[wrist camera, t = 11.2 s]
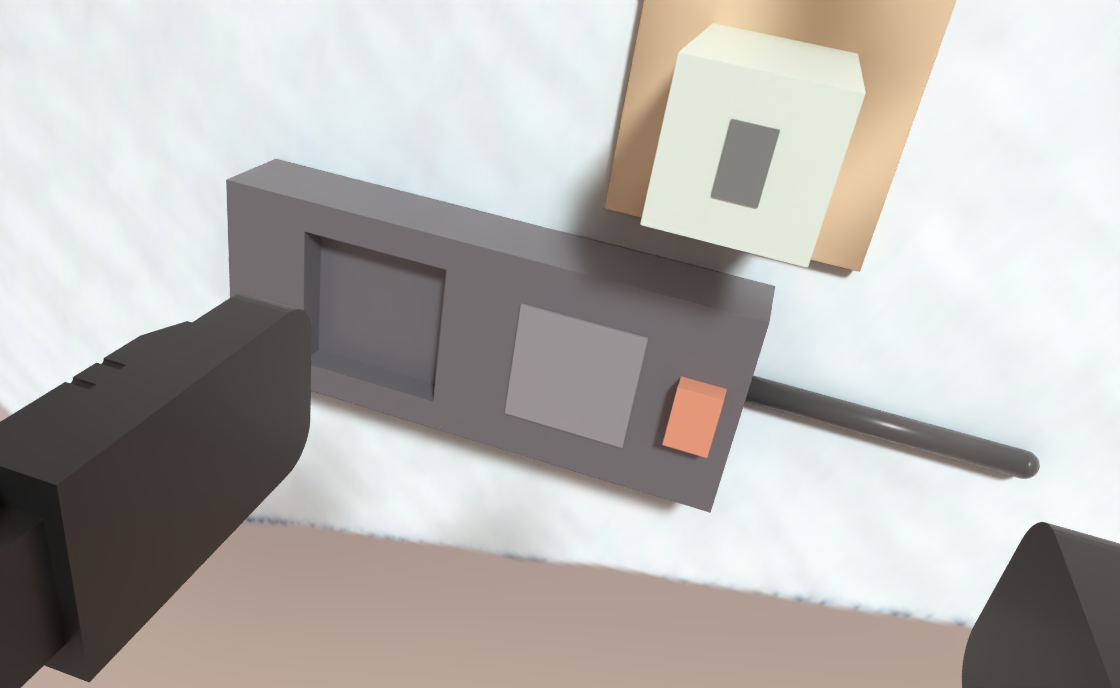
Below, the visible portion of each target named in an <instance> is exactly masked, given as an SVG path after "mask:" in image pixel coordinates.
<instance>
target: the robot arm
mask: <svg viewBox="0 0 1120 688" xmlns="http://www.w3.org/2000/svg"><path fill="white" fill-rule="evenodd" d="M311 341H312V331H311V322H310V319H309V317H308V315H307V313H306V312H305V311H303V310H301V309H298V308H294V307H291V306H287V305H283V304H280V303H276V302H273V301H269V300H266V299H262V298H259V297H255V296H252V295H248V294H242V293H241V294H237V295H235V296H233V297H231V298H229V299H228V300H226V301H225V302H223V303H222V304H220V305H219V306H217V307H216V308H214V309H212V310H211V311H209V312H208V313H206V314H205V315H203V316H202V317H200V318H198V319H197V320H195V321H194V322H188V321H186V322H183V323H180V324H177V325H173V326H170V327H167V328H164V329H160V330H157V331H154V332H151V333H147V334H144V335H141V336H139V337H137V338H136V339H134V340H133V341H131V342H129V343H128V344H126V345H124V346H123V347H121V348H120V349H118V350H116V351H115V352H113V353H111V354H110V355H108V356H107V357H105V358H104V361H103V363H102V364H99V363H95V364H94V365H92V366H90V367H89V368H87V369H85V370H84V371H82V372H81V373H79V374H77V375H76V376H74V377H73V381H72V382H71V383H67V382H64V383H63V384H61V385H59V386H58V387H56V388H55V389H53V390H51V391H50V392H48V393H46V394H45V395H43V396H42V397H40V398H38V399H37V400H35V401H33V402H32V403H30V404H29V405H27V406H25V407H24V408H22V409H20V410H19V411H17V412H16V413H14V414H12V415H11V416H9V417H7V418H6V419H4V420H3V421H1V422H0V688H21V687H22V686H23V685H24V684H25V683H26V682H27V681H28V680H29V679H30V678H31V677H32V676H33V675H34V674H35V673H36V672H37V671H38V670H39V669H41V668H42V667H43V666H44V665H45V666H47V667H50V668H53V669H56V670H58V671H61V672H63V673H66V674H69V675H71V676H74V677H76V678H79V679H82V680H84V681H87V682H90V681H91V680H92V679H93V678H94V677H95V676H96V675H97V674H98V673H99V672H100V671H101V670H102V668H104V667H105V665H106V664H107V663H108V662H109V661H110V660H111V659H112V658H113V657H114V656H115V655H116V654H117V653H118V652H119V651H120V650H121V649H122V648H123V647H124V646H125V645H126V644H127V643H128V641H129V640H130V639H131V638H132V637H133V636H134V635H135V634H136V633H137V632H138V631H139V630H140V629H141V628H142V627H143V626H144V625H145V624H146V623H147V622H148V621H149V620H150V618H151V617H152V616H153V615H154V614H155V613H156V612H157V611H158V610H159V609H160V608H161V607H162V606H163V605H164V604H165V603H166V602H167V601H168V600H169V599H170V597H172V595H173V594H174V593H175V592H176V591H177V590H178V589H179V588H180V587H181V586H182V585H183V584H184V583H185V582H186V581H187V580H188V579H189V578H190V577H191V576H192V574H193V573H194V572H195V571H196V570H197V569H198V568H199V567H200V566H201V565H202V564H203V563H204V562H205V561H206V560H207V559H208V558H209V557H210V556H211V555H212V554H213V553H214V551H215V550H217V548H218V547H219V546H220V545H221V544H222V543H223V542H224V541H225V540H226V539H227V538H228V537H229V536H230V535H231V534H232V533H233V532H234V531H235V530H236V529H237V528H238V527H239V525H240V524H241V523H242V522H243V521H244V520H245V519H246V518H247V517H248V516H249V515H250V514H251V513H252V512H253V511H254V510H255V509H256V508H257V507H258V506H259V505H260V504H261V502H262V501H263V500H264V499H265V498H266V497H267V496H268V495H269V494H270V493H271V492H272V491H273V490H274V489H275V488H276V487H277V486H278V485H279V484H280V483H281V482H282V481H283V480H284V478H285V477H286V476H287V475H288V474H289V473H290V472H291V471H292V469H293V468H294V466H295V465H296V463H297V462H298V460H299V458H300V456H301V454H302V452H303V449H304V447H305V444H306V441H307V437H308V433H309V427H310V400H311ZM962 688H1120V544H1119V543H1116V542H1112V541H1109V540H1105V539H1102V538H1098V537H1095V536H1091V535H1088V534H1084V533H1080V532H1077V531H1073V530H1070V529H1066V528H1063V527H1059V526H1056V525H1052V524H1049V523H1045V522H1040V523H1037V524H1035V525H1033V526H1032V527H1031V528H1030V529H1029V530H1028V531H1027V533H1026V534H1025V535H1024V537H1023V539H1022V540H1021V542H1020V544H1019V546H1018V547H1017V549H1016V551H1015V553H1014V555H1013V556H1012V558H1011V560H1010V562H1009V564H1008V565H1007V567H1006V569H1005V571H1004V573H1003V574H1002V576H1001V578H1000V580H999V582H998V583H997V585H996V587H995V589H994V591H993V592H992V594H991V596H990V598H989V600H988V601H987V603H986V605H985V607H984V609H983V610H982V612H981V614H980V616H979V618H978V620H977V621H976V623H975V625H974V627H973V629H972V631H971V634H970V636H969V639H968V642H967V646H966V650H965V654H964V660H963V669H962Z"/></svg>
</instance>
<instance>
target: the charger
mask: <svg viewBox="0 0 1120 688" xmlns="http://www.w3.org/2000/svg"><path fill="white" fill-rule="evenodd" d="M865 94H866V92H865V87H864V82H863V77H862V72H861V67H860V62H859V57H858V54H857V53H853V52H848V51H843V50H838V49H834V48H829V47H824V46H820V45H815V44H810V43H805V42H801V41H796V40H791V39H786V38H782V37H777V36H772V35H768V34H763V33H758V32H753V31H749V30H744V29H739V28H734V27H730V26H725V25H720V24H716V23H713V24H711V25H710V26H709V27H708V28H707V29H706V30H704V31H703V32H702V33H701V34H700V35H698V36H697V37H696V38H695V39H694V40H692V41H691V42H690V43H689V44H688V45H686V46H685V47H684V48H683V49H682V50H681V51H679V52H678V57H677V61H676V66H675V70H674V75H673V79H672V84H671V88H670V93H669V97H668V102H667V106H666V111H665V115H664V120H663V124H662V129H661V133H660V138H659V142H658V147H657V151H656V156H655V160H654V165H653V169H652V174H651V179H650V183H649V188H648V192H647V197H646V201H645V206H644V210H643V215H642V219H641V224H640V225H643V226H647V227H651V228H654V229H658V230H662V231H666V232H670V233H674V234H678V235H682V236H686V237H690V238H694V239H697V240H701V241H705V242H709V243H713V244H717V245H721V246H725V247H729V248H733V249H736V250H740V251H744V252H748V253H752V254H756V255H760V256H764V257H768V258H772V259H775V260H779V261H783V262H787V263H791V264H795V265H799V266H803V267H807V268H808V266H809V263H810V260H811V257H812V254H813V251H814V248H815V245H816V242H817V239H818V236H819V233H820V229H821V226H822V223H823V220H824V217H825V214H826V211H827V208H828V205H829V202H830V199H831V196H832V193H833V190H834V187H835V184H836V181H837V178H838V175H839V172H840V169H841V166H842V163H843V160H844V157H845V154H846V151H847V148H848V145H849V142H850V139H851V136H852V133H853V130H854V127H855V124H856V121H857V118H858V115H859V112H860V109H861V106H862V103H863V100H864V97H865Z"/></svg>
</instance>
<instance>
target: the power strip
mask: <svg viewBox="0 0 1120 688" xmlns="http://www.w3.org/2000/svg"><path fill="white" fill-rule="evenodd" d="M226 184H227V215H228V245H229V275H230V298H231V297H233V296H235V295H237V294H241V293H242V294H248V295H252V296H255V297H259V298H262V299H266V300H269V301H273V302H276V303H280V304H283V305H287V306H291V307H294V308H298V309H301V310H303V311H305V312H306V313H307V315H308V317H309V319H310V322H311V331H312V341H311V391H314V392H317V393H320V394H324V395H327V396H330V397H334V398H337V399H340V400H343V401H347V402H350V403H353V404H356V405H360V406H363V407H366V408H370V409H373V410H376V411H379V412H383V413H386V414H389V415H392V416H396V417H399V418H402V419H406V420H409V421H412V422H415V423H419V424H422V425H425V426H429V427H432V428H435V429H438V430H442V431H445V432H448V433H451V434H455V435H458V436H461V437H465V438H468V439H471V440H474V441H478V442H481V443H484V444H487V445H491V446H494V447H497V448H501V449H504V450H507V451H510V452H514V453H517V454H520V455H524V456H527V457H530V458H533V459H537V460H540V461H543V462H546V463H550V464H553V465H556V466H560V467H563V468H566V469H569V470H573V471H576V472H579V473H582V474H586V475H589V476H592V477H596V478H599V479H602V480H605V481H609V482H612V483H615V484H619V485H622V486H625V487H628V488H632V489H635V490H638V491H641V492H645V493H648V494H651V495H655V496H658V497H661V498H664V499H668V500H671V501H674V502H677V503H681V504H684V505H687V506H691V507H694V508H697V509H700V510H704V511H707V512H711V509H712V506H713V503H714V499H715V496H716V493H717V490H718V486H719V483H720V480H721V477H722V474H723V470H724V467H725V464H726V461H727V457H728V454H729V451H730V448H731V445H732V441H733V438H734V435H735V432H736V428H737V425H738V422H739V419H740V416H741V412H742V409H743V406H744V403H745V401H747V402H750V403H754V404H757V405H761V406H764V407H768V408H771V409H775V410H779V411H782V412H786V413H789V414H793V415H796V416H800V417H804V418H807V419H811V420H814V421H818V422H821V423H825V424H829V425H832V426H836V427H839V428H843V429H846V430H850V431H854V432H857V433H861V434H864V435H868V436H871V437H875V438H879V439H882V440H886V441H889V442H893V443H896V444H900V445H904V446H907V447H911V448H914V449H918V450H921V451H925V452H928V453H932V454H936V455H939V456H943V457H946V458H950V459H953V460H957V461H961V462H964V463H968V464H971V465H975V466H978V467H982V468H986V469H989V470H993V471H996V472H1000V473H1003V474H1007V475H1011V476H1014V477H1018V478H1022V479H1027V478H1031V477H1033V476H1034V475H1036V473H1037V472H1038V470H1039V467H1040V465H1039V460H1038V458H1037V457H1036V456H1035V455H1034V454H1033V453H1031V452H1029V451H1026V450H1022V449H1019V448H1015V447H1011V446H1008V445H1004V444H1000V443H997V442H993V441H990V440H986V439H982V438H979V437H975V436H971V435H968V434H964V433H960V432H957V431H953V430H949V429H946V428H942V427H939V426H935V425H931V424H928V423H924V422H920V421H917V420H913V419H909V418H906V417H902V416H898V415H895V414H891V413H888V412H884V411H880V410H877V409H873V408H869V407H866V406H862V405H858V404H855V403H851V402H847V401H844V400H840V399H837V398H833V397H829V396H826V395H822V394H818V393H815V392H811V391H807V390H804V389H800V388H797V387H793V386H789V385H786V384H782V383H778V382H775V381H771V380H767V379H764V378H760V377H756V376H753V374H754V370H755V367H756V364H757V361H758V357H759V354H760V351H761V348H762V345H763V341H764V338H765V335H766V332H767V328H768V325H769V321H770V315H771V309H772V302H773V296H774V290H775V286H772V285H768V284H764V283H760V282H756V281H752V280H748V279H744V278H740V277H736V276H733V275H729V274H725V273H721V272H717V271H713V270H709V269H705V268H701V267H697V266H693V265H689V264H686V263H682V262H678V261H674V260H670V259H666V258H662V257H658V256H654V255H650V254H646V253H642V252H638V251H635V250H631V249H627V248H623V247H619V246H615V245H611V244H607V243H603V242H599V241H595V240H591V239H588V238H584V237H580V236H576V235H572V234H568V233H564V232H560V231H556V230H552V229H548V228H544V227H541V226H537V225H533V224H529V223H525V222H521V221H517V220H513V219H509V218H505V217H501V216H497V215H493V214H490V213H486V212H482V211H478V210H474V209H470V208H466V207H462V206H458V205H454V204H450V203H446V202H443V201H439V200H435V199H431V198H427V197H423V196H419V195H415V194H411V193H407V192H403V191H399V190H396V189H392V188H388V187H384V186H380V185H376V184H372V183H368V182H364V181H360V180H356V179H352V178H348V177H345V176H341V175H337V174H333V173H329V172H325V171H321V170H317V169H313V168H309V167H305V166H301V165H298V164H294V163H290V162H286V161H282V160H278V159H274V160H272V161H270V162H267V163H265V164H263V165H260V166H258V167H255V168H253V169H251V170H248V171H246V172H244V173H241V174H239V175H237V176H234V177H232V178H229V179H227V180H226Z"/></svg>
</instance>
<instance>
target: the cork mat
mask: <svg viewBox="0 0 1120 688" xmlns="http://www.w3.org/2000/svg"><path fill="white" fill-rule="evenodd" d="M955 3H956V0H644V3H643V9H642V14H641V19H640V24H639V29H638V35H637V40H636V45H635V50H634V56H633V61H632V66H631V71H630V77H629V82H628V87H627V92H626V98H625V103H624V108H623V113H622V118H621V124H620V129H619V134H618V139H617V145H616V150H615V155H614V160H613V166H612V171H611V176H610V181H609V187H608V192H607V197H606V202H605V207H604V208H605V209H609V210H613V211H617V212H621V213H625V214H629V215H633V216H637V217H641V218H642V215H643V210H644V206H645V201H646V197H647V192H648V188H649V183H650V179H651V174H652V169H653V165H654V160H655V156H656V151H657V147H658V142H659V138H660V133H661V129H662V124H663V120H664V115H665V111H666V106H667V102H668V97H669V93H670V88H671V84H672V79H673V75H674V70H675V66H676V61H677V57H678V52H679V51H681V50H682V49H683V48H684V47H685V46H686V45H688V44H689V43H690V42H691V41H692V40H694V39H695V38H696V37H697V36H698V35H700V34H701V33H702V32H703V31H704V30H706V29H707V28H708V27H709V26H710V25H711V24H713V23H716V24H720V25H725V26H730V27H734V28H739V29H744V30H749V31H753V32H758V33H763V34H768V35H772V36H777V37H782V38H786V39H791V40H796V41H801V42H805V43H810V44H815V45H820V46H824V47H829V48H834V49H838V50H843V51H848V52H853V53H857V54H858V57H859V62H860V67H861V72H862V77H863V82H864V87H865V92H866V94H865V97H864V100H863V103H862V106H861V109H860V112H859V115H858V118H857V121H856V124H855V127H854V130H853V133H852V136H851V139H850V142H849V145H848V148H847V151H846V154H845V157H844V160H843V163H842V166H841V169H840V172H839V175H838V178H837V181H836V184H835V187H834V190H833V193H832V196H831V199H830V202H829V205H828V208H827V211H826V214H825V217H824V220H823V223H822V226H821V229H820V233H819V236H818V239H817V242H816V245H815V248H814V251H813V254H812V257H811V260H814V261H818V262H822V263H827V264H831V265H835V266H839V267H843V268H847V269H851V270H855V271H859V272H860V270H861V267H862V264H863V261H864V258H865V256H866V253H867V250H868V247H869V244H870V242H871V239H872V236H873V233H874V230H875V228H876V225H877V222H878V219H879V216H880V213H881V211H882V208H883V205H884V202H885V199H886V197H887V194H888V191H889V188H890V185H891V183H892V180H893V177H894V174H895V171H896V169H897V166H898V163H899V160H900V157H901V155H902V152H903V149H904V146H905V143H906V140H907V138H908V135H909V132H910V129H911V126H912V124H913V121H914V118H915V115H916V112H917V110H918V107H919V104H920V101H921V98H922V96H923V93H924V90H925V87H926V84H927V82H928V79H929V76H930V73H931V70H932V68H933V65H934V62H935V59H936V56H937V53H938V51H939V48H940V45H941V42H942V39H943V37H944V34H945V31H946V28H947V25H948V23H949V20H950V17H951V14H952V11H953V9H954V6H955Z"/></svg>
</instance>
